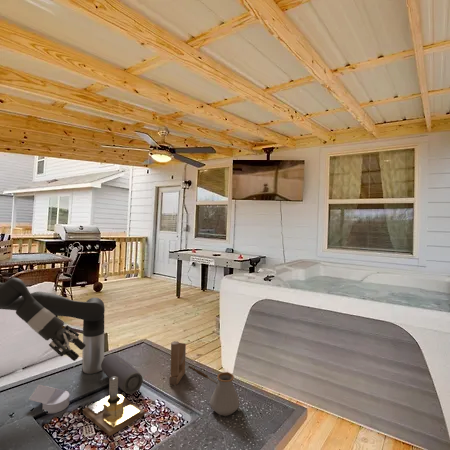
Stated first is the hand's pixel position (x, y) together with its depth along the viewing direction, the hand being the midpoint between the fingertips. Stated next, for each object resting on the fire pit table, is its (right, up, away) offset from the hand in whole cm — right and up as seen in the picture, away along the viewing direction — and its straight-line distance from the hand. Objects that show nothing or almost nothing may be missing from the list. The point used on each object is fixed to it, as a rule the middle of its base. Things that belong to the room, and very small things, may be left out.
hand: (80, 353), depth 112 cm
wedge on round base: (-14, -23, +7) cm, 28 cm away
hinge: (+11, -22, +2) cm, 25 cm away
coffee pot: (+48, -24, +8) cm, 54 cm away
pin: (+11, -22, +2) cm, 25 cm away
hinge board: (+11, -23, +2) cm, 26 cm away
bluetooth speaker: (+7, -23, +21) cm, 32 cm away
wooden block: (+31, -23, +27) cm, 47 cm away
